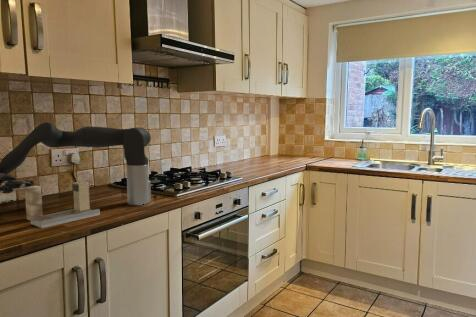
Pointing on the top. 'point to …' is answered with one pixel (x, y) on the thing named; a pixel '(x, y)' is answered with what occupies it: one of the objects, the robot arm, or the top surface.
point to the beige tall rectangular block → (33, 201)
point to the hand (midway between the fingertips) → (20, 188)
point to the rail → (77, 213)
